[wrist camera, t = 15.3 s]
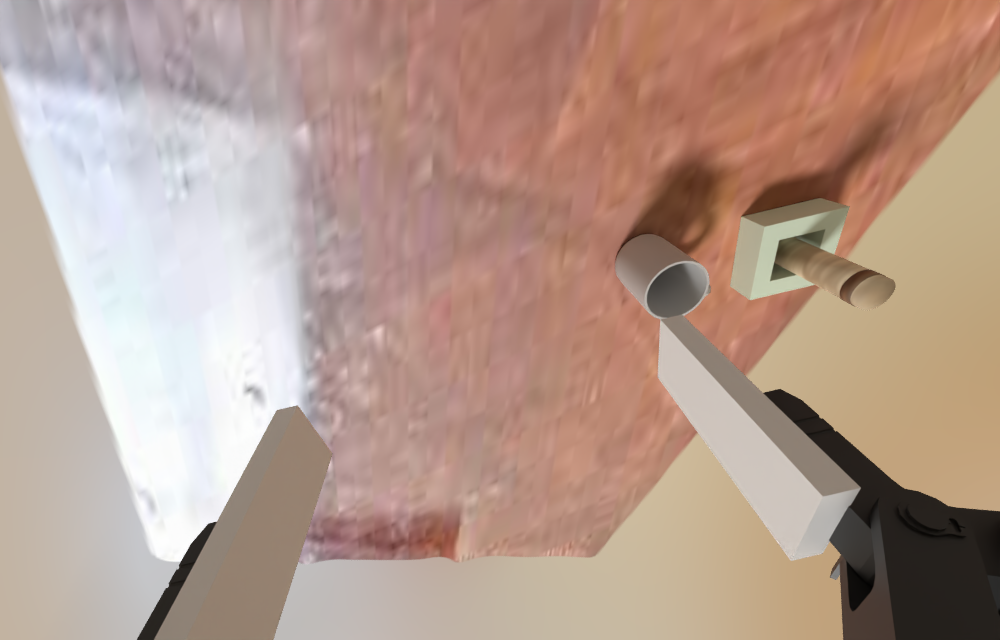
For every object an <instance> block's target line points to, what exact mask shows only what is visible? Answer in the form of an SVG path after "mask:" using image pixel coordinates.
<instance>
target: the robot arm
mask: <svg viewBox="0 0 1000 640" xmlns="http://www.w3.org/2000/svg"><path fill="white" fill-rule="evenodd" d="M658 378H659V380H660V381H661V382H662V384H663V385H664V387H665V388H666V389H667V391H668V392H669V393H670V395H671V396H672V398H673V399H674V400H675V402H676V403H677V404H678V406H679V407H680V409H681V410H682V411H683V413H684V414H685V415H686V417H687V418H688V420H689V421H690V422H691V424H692V425H693V426H694V428H695V429H696V431H697V432H698V433H699V435H700V436H701V438H702V439H703V440H704V442H705V443H706V444H707V446H708V447H709V449H710V450H711V451H712V453H713V454H714V455H715V456H716V458H717V460H718V461H719V462H720V464H721V465H722V466H723V468H724V469H725V470H726V472H727V473H728V475H729V476H730V477H731V479H732V480H733V482H734V483H735V484H736V486H737V487H738V488H739V490H740V491H741V493H742V494H743V495H744V497H745V498H746V499H747V501H748V502H749V504H750V505H751V506H752V508H753V509H754V511H755V512H756V513H757V515H758V516H759V517H760V519H761V520H762V522H763V523H764V524H765V526H766V527H767V528H768V530H769V531H770V533H771V534H772V535H773V537H774V538H775V540H776V541H777V542H778V544H779V545H780V546H781V548H782V549H783V551H784V552H785V553H786V555H787V556H788V557H789V559H790V560H791V561H792V560H796V559H801V558H805V557H810V556H814V555H818V554H822V553H823V552H824V550H825V548H826V546H827V545H828V543H829V542H831V543H832V544H833V545H834V546H835V548H836V549H837V550H838V551H839V552H840V554H841V556H840V558H839V559H838V561H837V562H836V564H835V565H834V567H833V568H832V571H831V575H830V578H833V579H835V580H836V579H837V578H838V577H839V575H840V582H841V599H842V601H841V602H842V622H843V640H1000V511H988V510H977V509H966V508H956V507H950V506H947V505H946V504H944V503H942V502H941V501H939V500H937V499H936V498H933V497H930V496H928V495H926V494H923V493H921V492H918V491H913V490H908V489H904V488H902V487H901V486H900V485H898V484H897V483H896V482H894V481H893V480H892V479H891V478H890V477H888V476H887V475H886V474H885V473H884V472H883V471H882V470H880V469H879V468H878V467H877V466H876V465H875V464H874V463H873V462H871V461H870V460H869V459H868V458H867V457H866V456H864V455H863V454H862V453H861V452H860V451H859V450H858V449H857V448H856V447H854V446H853V445H852V444H851V443H850V442H849V441H847V440H846V439H845V438H844V437H843V436H842V435H841V434H840V433H838V432H837V431H836V432H835V431H834V429H833V427H832V426H831V425H829V424H828V423H827V422H826V421H825V420H824V419H821V418H819V415H818V414H817V413H816V412H815V411H813V410H812V409H811V408H810V407H809V406H808V405H807V404H805V403H804V402H803V401H802V400H800V399H798V398H797V397H795V396H793V395H791V394H789V393H787V392H785V391H783V390H781V389H778V390H774V391H769V392H765V393H762V392H761V391H760V390H759V389H758V388H757V387H756V386H755V385H754V384H753V383H752V382H751V381H750V380H749V379H748V378H747V377H746V376H745V375H744V374H743V373H742V372H741V371H740V370H739V369H738V368H737V367H736V366H735V365H733V364H732V363H731V362H730V361H729V360H728V359H727V358H726V357H725V356H724V355H723V354H722V353H721V352H720V351H719V350H718V349H717V348H716V347H715V346H714V345H713V344H712V343H711V342H710V341H709V340H708V339H707V338H706V337H705V336H703V335H702V334H701V333H700V332H699V331H698V330H697V329H696V328H695V327H694V326H693V325H692V324H691V323H690V322H689V321H688V320H687V319H686V318H685V317H684V316H683V315H678V316H674V317H669V318H665V319H661V320H660V340H659V361H658ZM331 457H332V452H331V451H330V450H329V448H328V447H327V445H326V444H325V443H324V441H323V440H322V438H321V437H320V436H319V434H318V433H317V432H316V430H315V429H314V427H313V426H312V425H311V423H310V422H309V420H308V419H307V418H306V416H305V415H304V414H303V412H302V411H301V409H300V408H299V407H298V405H297V406H293V407H289V408H285V409H280V410H277V411H276V413H275V414H274V416H273V418H272V420H271V422H270V424H269V426H268V428H267V429H266V431H265V433H264V435H263V437H262V439H261V441H260V443H259V444H258V446H257V448H256V450H255V452H254V454H253V456H252V457H251V459H250V461H249V463H248V465H247V467H246V469H245V471H244V472H243V474H242V476H241V478H240V480H239V482H238V484H237V485H236V487H235V489H234V491H233V493H232V495H231V497H230V499H229V500H228V502H227V504H226V506H225V508H224V510H223V512H222V514H221V515H220V517H219V519H218V521H217V522H213V523H209V524H208V525H207V526H206V527H205V528H204V530H203V531H202V532H201V533H200V534H199V535H198V536H197V538H196V539H195V540H194V541H193V542H192V543H191V545H190V547H189V549H188V550H187V552H186V554H185V556H184V557H183V559H182V561H181V563H180V564H179V569H178V570H176V572H175V573H174V575H173V577H172V579H171V580H170V582H169V587H168V588H166V589H165V591H164V593H163V595H162V596H161V598H160V600H159V602H158V603H157V605H156V607H155V609H154V611H153V612H152V614H151V616H150V618H149V619H148V621H147V623H146V624H145V626H144V628H143V630H142V632H141V633H140V635H139V637H138V639H137V640H273V639H274V636H275V633H276V629H277V626H278V623H279V620H280V617H281V614H282V611H283V607H284V604H285V601H286V598H287V595H288V592H289V588H290V585H291V582H292V579H293V576H294V573H295V570H296V567H297V564H298V560H299V557H300V554H301V551H302V548H303V545H304V542H305V538H306V535H307V532H308V529H309V526H310V523H311V520H312V516H313V513H314V510H315V507H316V504H317V501H318V498H319V494H320V491H321V488H322V485H323V482H324V479H325V476H326V473H327V469H328V466H329V463H330V460H331Z"/></svg>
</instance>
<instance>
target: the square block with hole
mask: <svg viewBox="0 0 1000 640" xmlns="http://www.w3.org/2000/svg"><path fill="white" fill-rule="evenodd" d="M849 207H850V206H846V205H843V204H839V203H836V202H833V201H829V200H826V199H822V198H817V199H813V200H809V201H805V202H801V203H797V204H792V205H788V206H784V207H780V208H776V209H771V210H767V211H763V212H759V213H755V214H750V215H746V216H742V217H741V222H740V228H739V234H738V240H737V247H736V253H735V259H734V265H733V271H732V277H731V284H730V286H731V287H732V288H733V289H735V290H736V291H738V292H739V293H741V294H742V295H743V296H745V297H746V298H748V299H749V300H752V299H756V298H761V297H765V296H769V295H773V294H778V293H782V292H786V291H790V290H795V289H799V288H803V287H807V286H811V285H815V284H813V283H811V282H809V281H807V280H805V279H803V278H802V277H800V276H798V275H796V274H794V273H792V272H790V271H789V270H787V269H785V268H783V267H781V266H779V265H777V264H775V263H774V261H775V256H776V252H777V248H778V243H779V240H782V239H786V238H790V237H795V238H797V239H799V240H802V241H804V242H806V243H809V244H811V245H813V246H816V247H818V248H820V249H823V250H825V251H827V252H830V253H832V254H834V253H835V250H836V247H837V244H838V241H839V238H840V235H841V232H842V229H843V226H844V222H845V219H846V216H847V213H848V210H849Z"/></svg>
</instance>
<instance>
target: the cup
mask: <svg viewBox="0 0 1000 640" xmlns="http://www.w3.org/2000/svg"><path fill="white" fill-rule="evenodd" d="M615 271H616V275H617V276H618V278H619V279H620V281H621V282H622V283H623V285H624V286H625V287H626V288H627V289H628V290H629V291H630V292H631V293H632V295H633V296H634V297H635V298H636V299H637V300H638V301H639V302H640V304H641V305H642V306H643V307H644V308H645V309H646V310H647V311H648V312H649V314H651V315H652V316H654V317H655V318H658V319H665V318H669V317H674V316H678V315H683V316H684V315H686V314H688V313H689V312H691V311H692V310H693V309H695V308H696V307H697V306H698V305H699V304H700V302H701V301H702V300H703V298H704V297H705V296H707V295H708V294H709V293H710V289H711V287H710V285H709V274H708V272H707V270H706V269H705V268H704V267H703V266H702V265H701V264H700V263H698V262H697V261H695V260H694V259H693V258H691V257H690V256H688V255H687V254H685V253H684V252H682V251H681V250H680V249H678V248H677V247H675V246H674V245H672V244H671V243H669V242H668V241H667V240H665V239H664V238H662V237H660V236H657V235H655V234H644V235H639V236H637V237H635V238H633V239H631V240H630V241H628V242H627V243H626V244H625V245H624V246H623V247H622V248H621V250H620V252H619V253H618V255H617V258H616V261H615Z"/></svg>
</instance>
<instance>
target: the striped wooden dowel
mask: <svg viewBox="0 0 1000 640" xmlns="http://www.w3.org/2000/svg"><path fill="white" fill-rule="evenodd" d="M774 263H775V264H777V265H779V266H781V267H783V268H785V269H787V270H789V271H790V272H792V273H794V274H796V275H798V276H800V277H802V278H803V279H805V280H807V281H809V282H811V283H813V284H815V285H817V286H818V287H820V288H822V289H824V290H826V291H828V292H830V293H831V294H833V295H835V296H837V297H839V298H841V299H842V300H843V301H846V302H847V303H849V304H851V305H853V306H855V307H858V308H860V309H861V310H871V309H874V308H876V307H878V306H880V305H881V304H883V303H884V302H885V301H886V300H888V299H889V298H890V296H891V295H892V293H893V292H894V290H895V282H894V281H893V280H892V279H890V278H888V277H886V276H884V275H882V274H880V273H877V272H875V271H872V270H869V269H866V268H864V267H862V266H860V265H857V264H855V263H853V262H850V261H848V260H846V259H844V258H841V257H839V256H837V255H834V254H832V253H830V252H827V251H825V250H823V249H820V248H818V247H816V246H813V245H811V244H809V243H806V242H804V241H802V240H799V239H797V238H795V237H790V238H786V239H782V240H779V243H778V248H777V252H776V256H775V261H774Z"/></svg>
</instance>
